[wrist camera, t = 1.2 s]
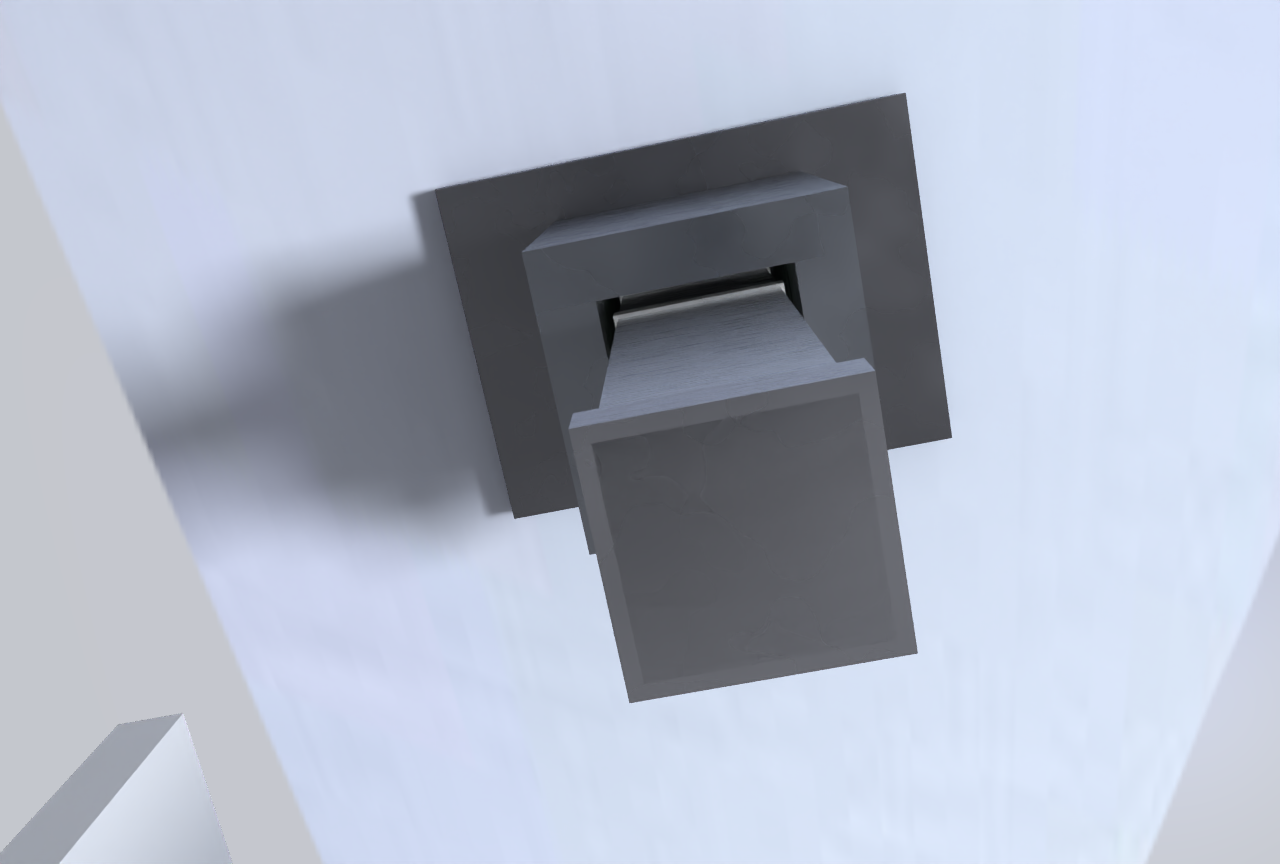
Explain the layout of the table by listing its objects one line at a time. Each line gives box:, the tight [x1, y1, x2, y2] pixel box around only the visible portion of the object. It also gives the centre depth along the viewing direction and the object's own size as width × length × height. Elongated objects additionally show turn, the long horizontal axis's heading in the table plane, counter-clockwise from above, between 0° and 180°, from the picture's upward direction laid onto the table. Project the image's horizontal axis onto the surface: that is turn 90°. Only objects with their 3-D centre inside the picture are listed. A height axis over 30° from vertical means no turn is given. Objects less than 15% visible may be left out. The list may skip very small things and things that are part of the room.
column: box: [568, 267, 918, 703], centre depth 29 cm, size 5×5×22 cm
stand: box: [435, 93, 952, 554], centre depth 35 cm, size 12×16×11 cm
